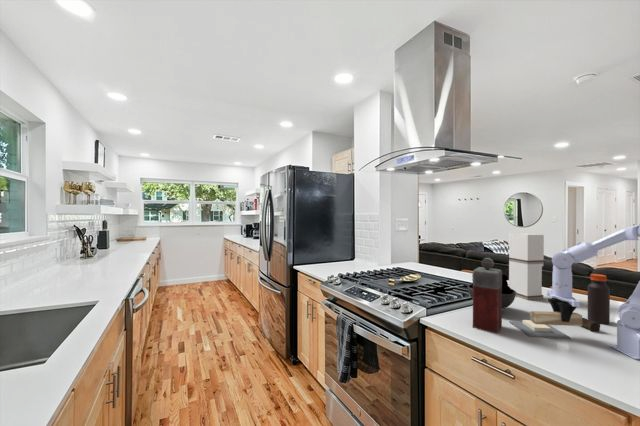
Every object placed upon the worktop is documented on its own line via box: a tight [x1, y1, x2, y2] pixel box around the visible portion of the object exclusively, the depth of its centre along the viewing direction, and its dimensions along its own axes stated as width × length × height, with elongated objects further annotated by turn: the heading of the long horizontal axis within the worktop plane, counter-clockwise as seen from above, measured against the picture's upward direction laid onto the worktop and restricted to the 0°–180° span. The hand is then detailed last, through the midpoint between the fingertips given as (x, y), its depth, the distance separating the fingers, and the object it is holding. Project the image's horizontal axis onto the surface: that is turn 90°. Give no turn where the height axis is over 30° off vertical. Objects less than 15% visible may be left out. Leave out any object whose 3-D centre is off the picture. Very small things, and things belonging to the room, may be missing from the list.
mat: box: [509, 320, 571, 340], centre depth 112 cm, size 14×14×1 cm
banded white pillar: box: [508, 232, 545, 301], centre depth 159 cm, size 11×11×35 cm
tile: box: [521, 319, 551, 332], centre depth 113 cm, size 2×6×8 cm
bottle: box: [587, 273, 611, 325], centre depth 122 cm, size 7×7×20 cm
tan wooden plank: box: [530, 310, 583, 327], centre depth 108 cm, size 3×16×4 cm, turn 83°
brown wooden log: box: [581, 317, 601, 333], centre depth 120 cm, size 19×4×5 cm, turn 0°
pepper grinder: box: [472, 257, 503, 334], centre depth 116 cm, size 9×11×28 cm
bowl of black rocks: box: [467, 268, 517, 310], centre depth 137 cm, size 20×20×19 cm
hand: (561, 319), depth 107 cm, fingers closed on tan wooden plank, 3 cm apart
